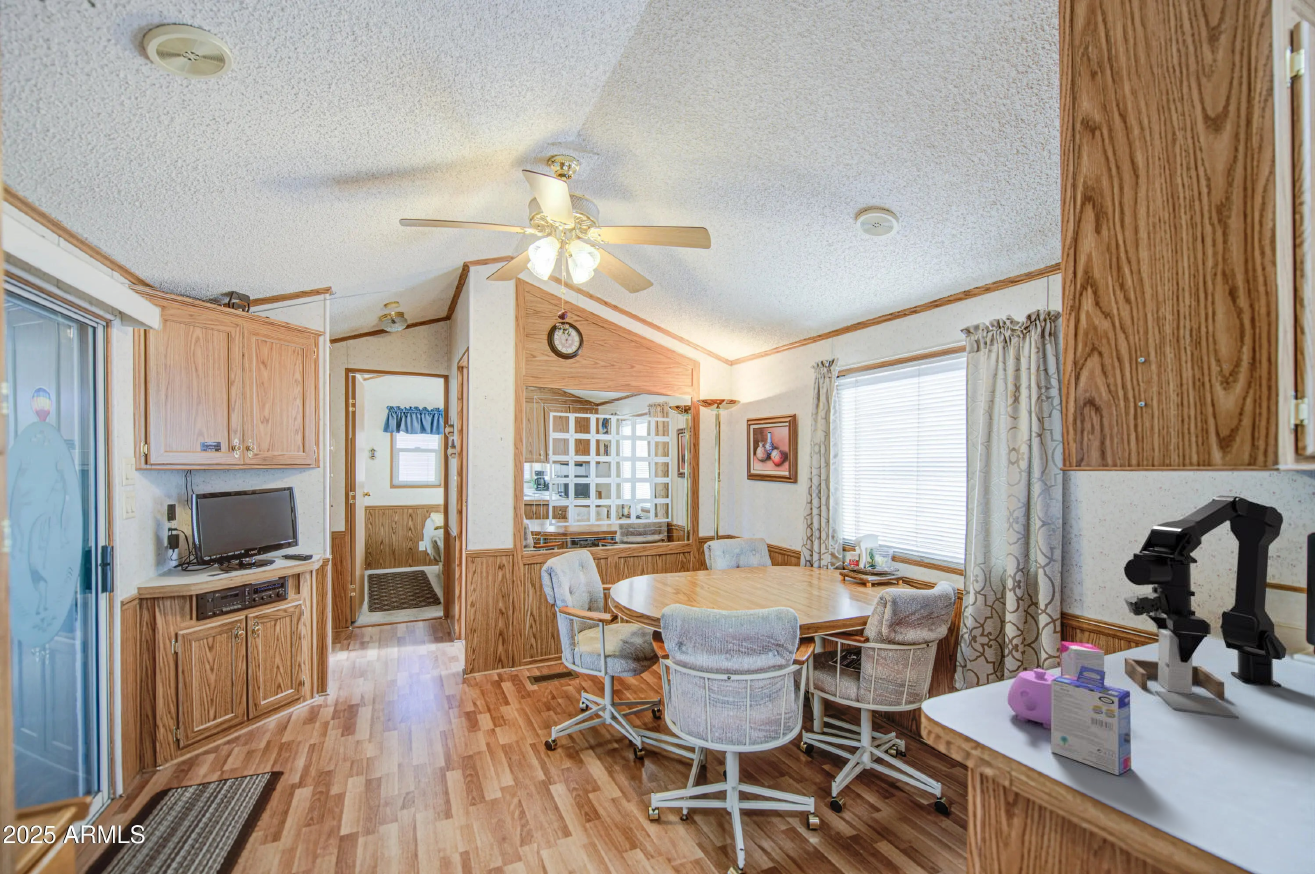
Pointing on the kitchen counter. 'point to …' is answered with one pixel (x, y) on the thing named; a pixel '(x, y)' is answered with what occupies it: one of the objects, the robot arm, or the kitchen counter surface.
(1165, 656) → the skincare box
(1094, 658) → the supplement box
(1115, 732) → the ink cartridge box
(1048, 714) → the pink rounded plastic body
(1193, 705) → the charcoal mat
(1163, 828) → the kitchen counter surface
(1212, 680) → the walnut u-shaped bracket
